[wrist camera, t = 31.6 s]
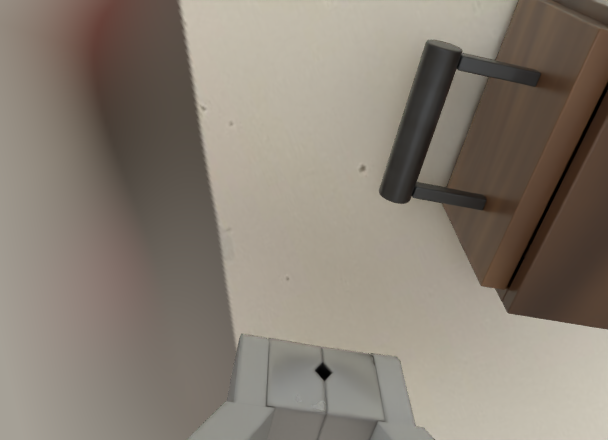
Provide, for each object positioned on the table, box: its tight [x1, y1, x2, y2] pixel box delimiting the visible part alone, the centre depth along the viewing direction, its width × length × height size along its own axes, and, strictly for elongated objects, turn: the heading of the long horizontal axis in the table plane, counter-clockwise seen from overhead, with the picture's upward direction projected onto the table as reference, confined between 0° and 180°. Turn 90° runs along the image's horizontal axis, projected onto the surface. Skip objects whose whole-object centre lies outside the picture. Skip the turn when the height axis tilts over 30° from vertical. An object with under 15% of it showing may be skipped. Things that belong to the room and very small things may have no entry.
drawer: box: [379, 0, 608, 290], centre depth 27 cm, size 18×11×8 cm, turn 78°
